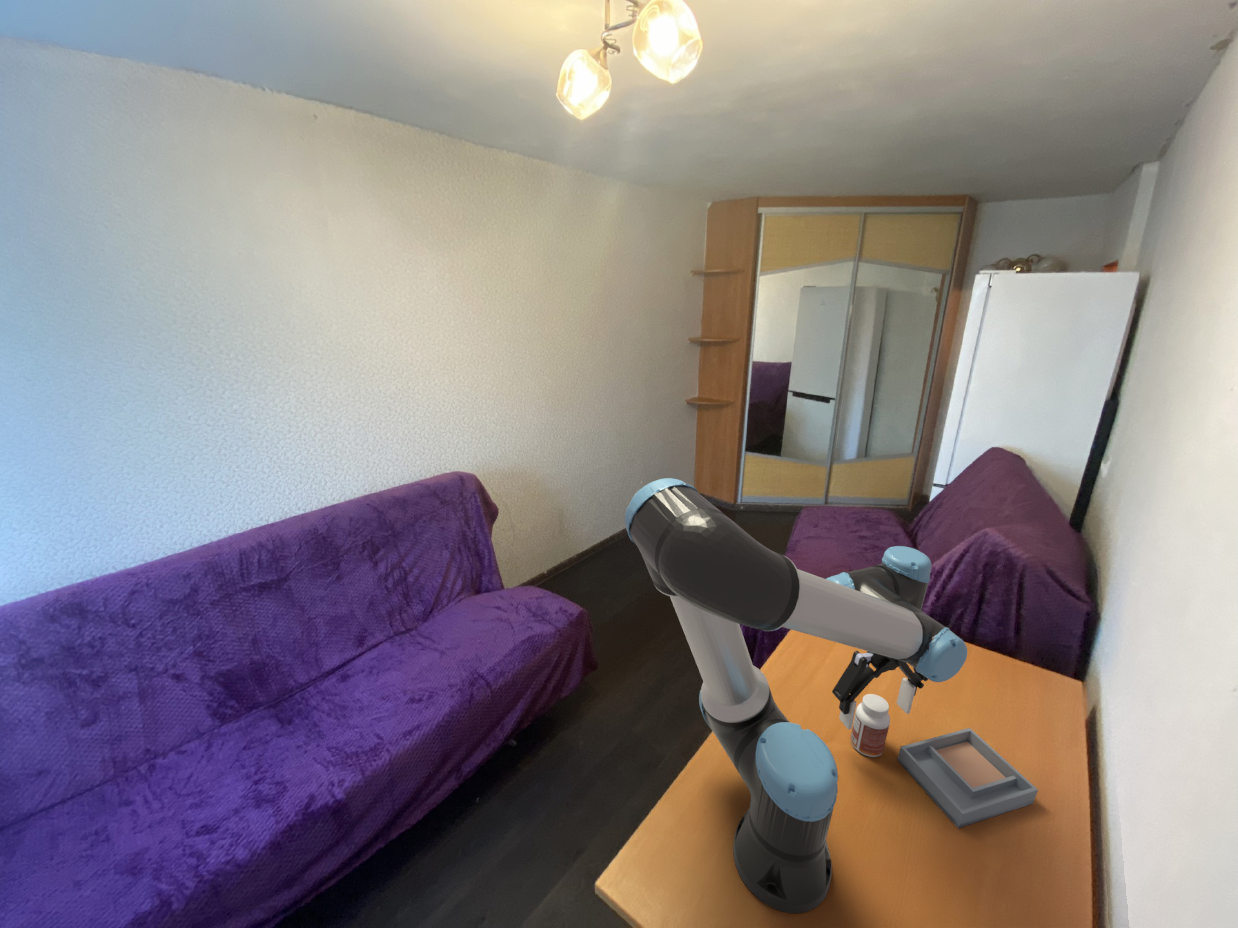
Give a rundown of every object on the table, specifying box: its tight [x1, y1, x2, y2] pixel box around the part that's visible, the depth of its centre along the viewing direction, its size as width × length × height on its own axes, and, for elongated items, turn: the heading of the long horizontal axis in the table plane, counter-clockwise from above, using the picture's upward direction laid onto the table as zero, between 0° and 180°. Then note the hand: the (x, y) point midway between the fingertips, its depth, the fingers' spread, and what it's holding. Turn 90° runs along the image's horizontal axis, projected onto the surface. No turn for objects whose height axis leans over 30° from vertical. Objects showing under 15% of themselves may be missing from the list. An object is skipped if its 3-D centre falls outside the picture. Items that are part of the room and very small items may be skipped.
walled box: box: [896, 727, 1039, 829], centre depth 98 cm, size 17×14×4 cm
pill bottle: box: [850, 693, 891, 758], centre depth 104 cm, size 6×6×11 cm
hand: (874, 716), depth 104 cm, fingers open, 13 cm apart
